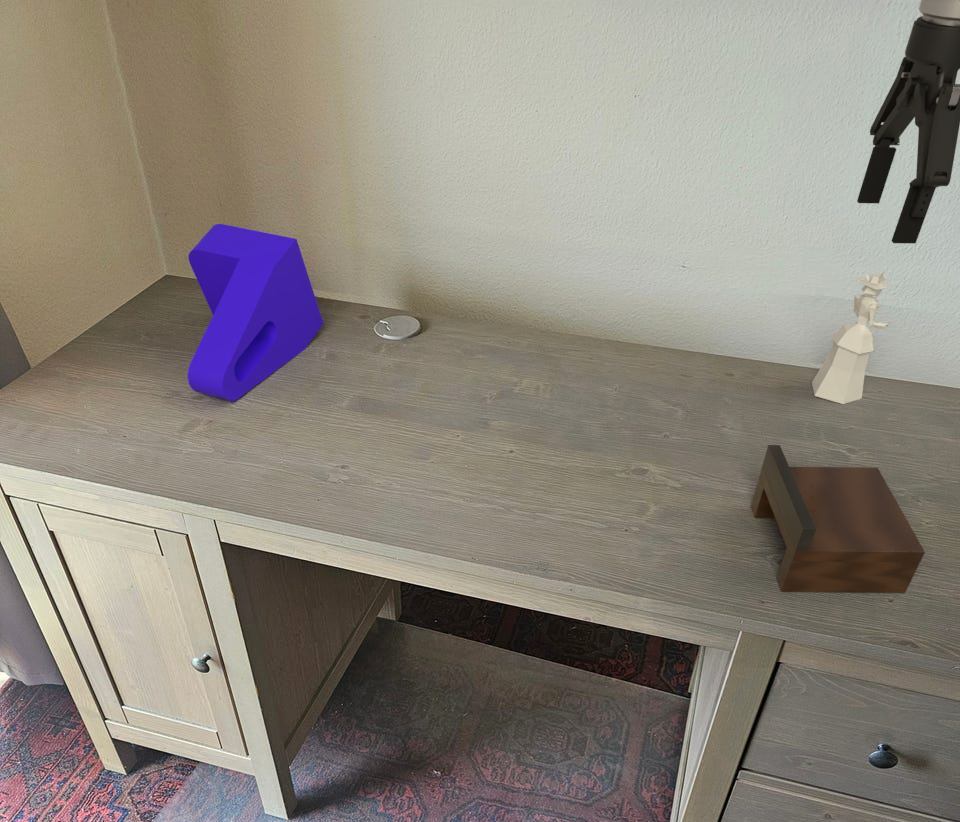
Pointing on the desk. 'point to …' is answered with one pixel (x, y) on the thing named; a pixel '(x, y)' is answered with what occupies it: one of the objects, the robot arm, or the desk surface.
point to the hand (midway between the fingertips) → (884, 221)
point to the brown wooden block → (836, 528)
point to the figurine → (851, 348)
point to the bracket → (250, 309)
